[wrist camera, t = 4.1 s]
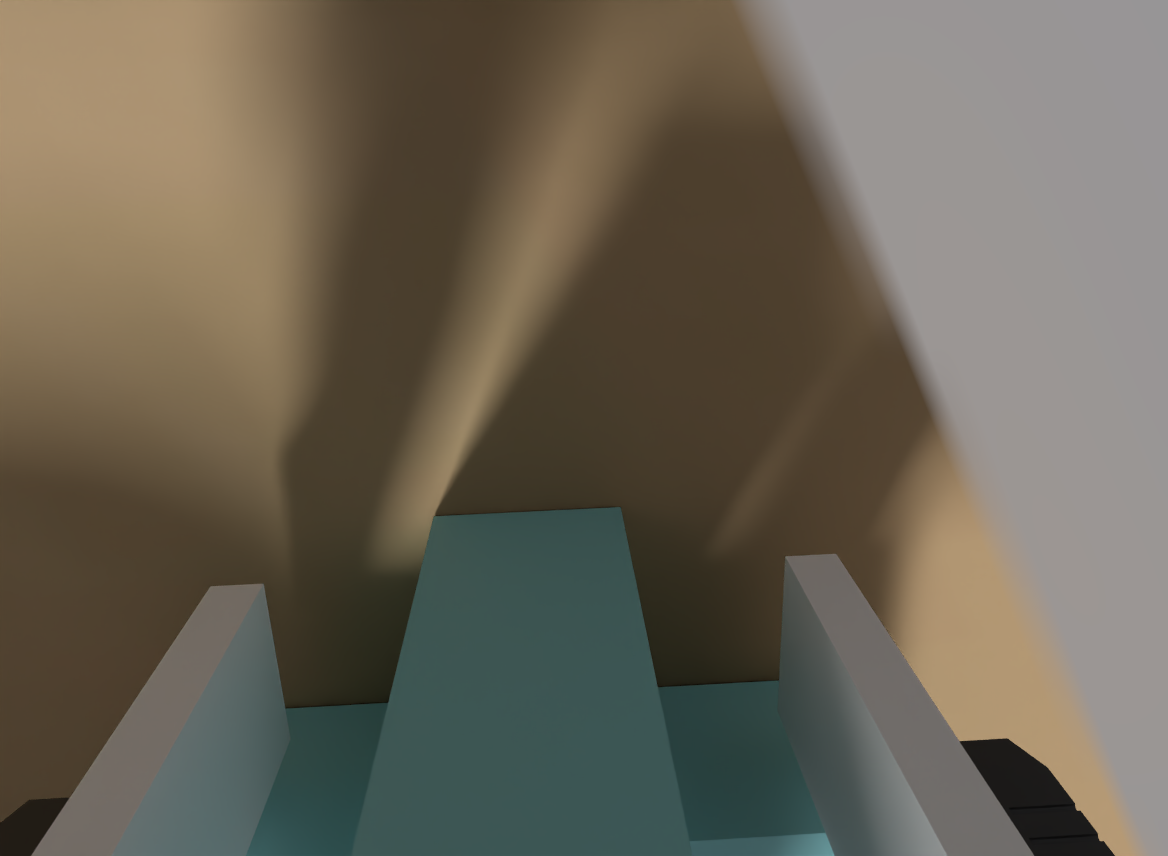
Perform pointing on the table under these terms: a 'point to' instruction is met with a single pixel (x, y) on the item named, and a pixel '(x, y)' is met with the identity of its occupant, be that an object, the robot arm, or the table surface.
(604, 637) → the tabbed collar
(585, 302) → the table surface
